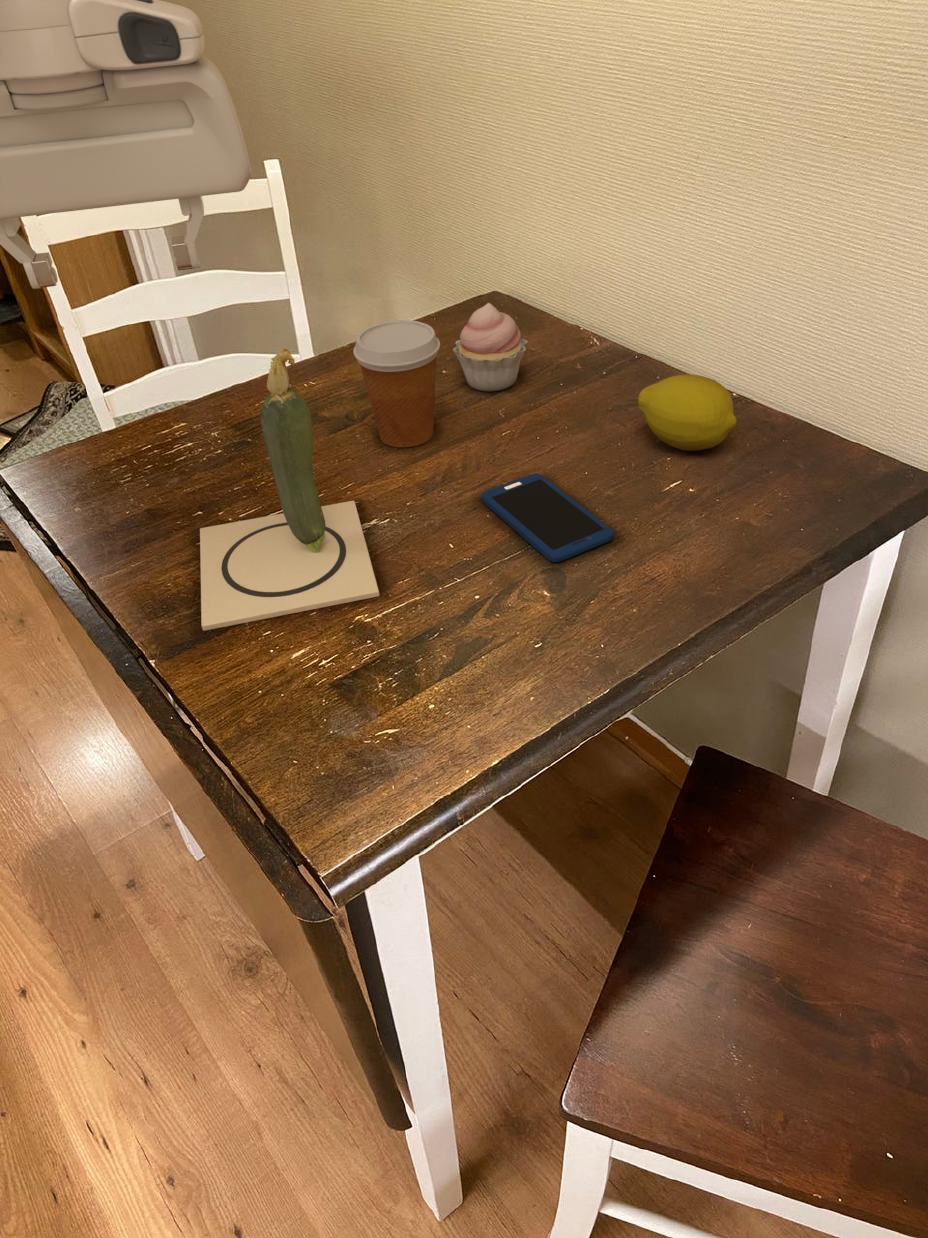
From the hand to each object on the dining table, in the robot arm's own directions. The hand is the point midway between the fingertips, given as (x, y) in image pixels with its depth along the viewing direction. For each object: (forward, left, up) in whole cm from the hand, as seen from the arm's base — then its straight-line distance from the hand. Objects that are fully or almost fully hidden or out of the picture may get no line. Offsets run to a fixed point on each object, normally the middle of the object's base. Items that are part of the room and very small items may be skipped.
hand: (118, 275), depth 60 cm
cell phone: (+32, +6, -31) cm, 45 cm away
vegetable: (+9, +8, -30) cm, 33 cm away
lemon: (+51, +15, -31) cm, 61 cm away
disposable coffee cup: (+22, +28, -31) cm, 47 cm away
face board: (+6, +7, -31) cm, 32 cm away
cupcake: (+35, +38, -31) cm, 60 cm away
